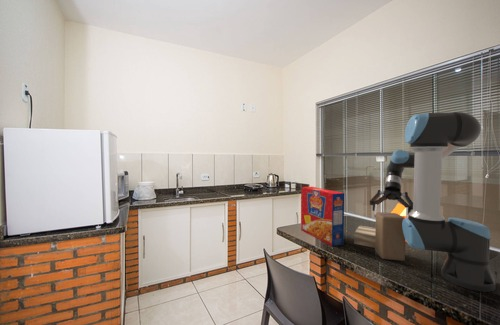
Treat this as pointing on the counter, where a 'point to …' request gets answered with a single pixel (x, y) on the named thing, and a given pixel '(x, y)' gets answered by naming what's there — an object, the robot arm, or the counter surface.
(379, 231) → the block
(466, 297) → the counter surface
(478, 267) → the robot arm
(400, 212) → the orange juice
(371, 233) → the plinth
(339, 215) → the pasta box
